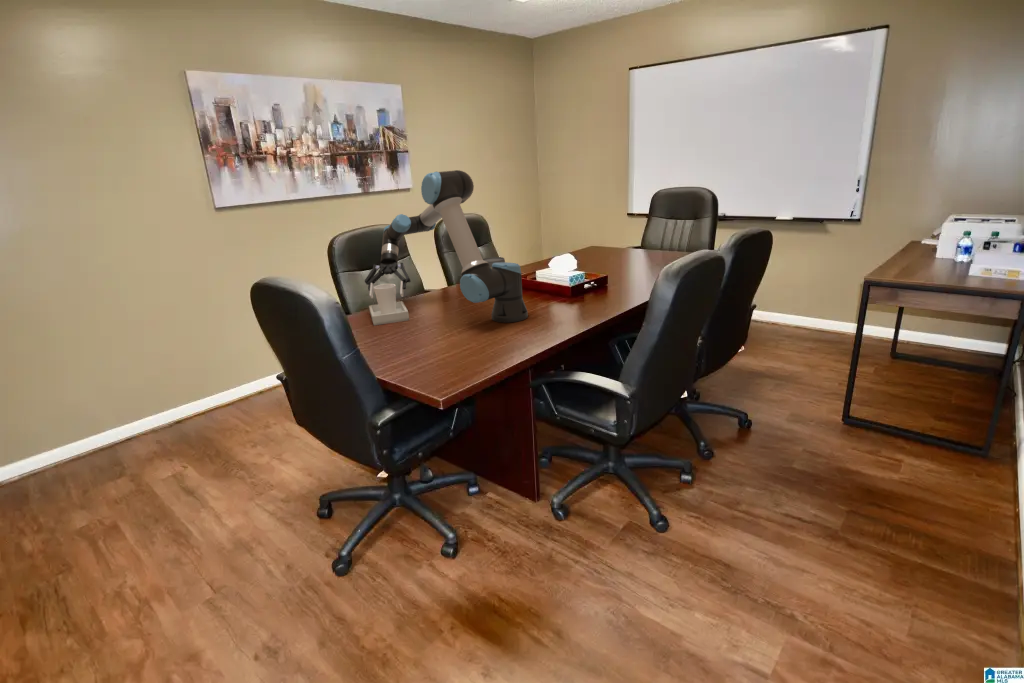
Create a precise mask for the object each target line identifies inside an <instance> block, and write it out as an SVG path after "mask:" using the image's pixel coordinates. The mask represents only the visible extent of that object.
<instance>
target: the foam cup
mask: <svg viewBox="0 0 1024 683" xmlns="http://www.w3.org/2000/svg"><path fill="white" fill-rule="evenodd" d="M374 294H375V297H376V301H377V304H378V305H379V308H380V312H381V315H382V314H389V313H396V302H397V286H396V284H394V283H381V284H378V285H374Z"/></svg>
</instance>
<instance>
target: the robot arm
mask: <svg viewBox="0 0 1024 683" xmlns="http://www.w3.org/2000/svg"><path fill="white" fill-rule="evenodd" d="M420 186H421V188H420V189H421V192H420V193H421V197H422V199H423V201H424V202H425V203H426V204H428V205H429V206H427V207H426V208H425V209H424V210H423V211H422V212H421V213H419V215H418V214H417V215H415V216H408V215H407V214H403V213H399V214H397V215H396V216H395V218H393V220H392V221H391V223H390V224H388V225H386V226H385V227H384V228H383V232H382V243H381V252H380V253H381V256H380V264H379V265H377V264H375V263H373V265H372V269H371V270H370V272H369V273H368V274H367V276H366V278H365V279H364V283H365V285H366V286H368V287H367V290H368V291H369V297H370V299H372V300H373V299H374V294H375V292H374V287H375V285H374V284H375V283H377V282H378V280H380V279H381V278H382V277H383V276H384V275H385V276H386V275H393V274H394V275H395V276H396V277H398V279H399V280H400V289H399V294H400V296H401V297H404V293H405V290H407V284H408V283H411V279H410V276H409V274H408V272H407V270H406V269H405V264H404V262H400V263H398V262H399V249H400V241H401V240H402V239H403V237H404V236H407V235H412V234H418V233H424V232H426V233H427V232H431V231H433V230H435V228H436V225H437V223H438V221H440V220H441V219H442V221H443V223H444V226H445V228H446V231H447V234H448V236H449V238H450V240H451V243H452V245H453V248H454V250H455V253H456V255H457V258H458V260H459V262H460V265H461V267H462V269H461V273H460V275H461V278H460V279H459V288H460V289H459V290H460V291H461V293H462V295H463V297H464V298H466V300H467V301H469V302H471V303H474V304H476V303H484V302H486V301H488V300H493V299H494V303H493V305H492V306H493V307H492V310H491V319H492V321H494V322H497V323H516V322H521V321H524V320H526V319H527V318H528V317H529V314H528V309H527V306H526V304H525V301H524V299H523V298H524V297H523V282H522V280H523V279H522V274H523V273H522V269H521V265H520V264H519V263H517V262H516V263H515V262H509V261H507V262H506V261H505V262H498V263H493V264H492V268H490V266H489V263H488V262H486V261H484V260H483V259H484V258H483V257H482V254H481V252H480V249H479V248H478V245H477V242H476V240H475V237H474V235H473V233H472V230H471V228H470V225H469V224H468V221H467V219H466V218H467V217H466V216H465V214H464V212H463V209H462V206H461V205H462V204H464V203H465V202H466V201H467V200H468V199H470V198H471V196H472V195H473V192H474V186H475V185H474V181H473V178H472V177H471V176H470V175H469V174H468V173H467V172H465V171H463V170H460V169H459V170H446V171H434V172H428V173H426V175H425V176H424V177H423V179H422V180H421V185H420ZM398 269H400V270H401V271H402V273H403V275H402V274H401V273H400V272H399V271H398ZM404 276H405V277H404Z"/></svg>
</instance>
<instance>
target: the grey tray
mask: <svg viewBox="0 0 1024 683" xmlns="http://www.w3.org/2000/svg"><path fill="white" fill-rule="evenodd" d="M368 308H369V309H368V310H369V315H370V316H371V317H370V318H371V321H372V323H373V326H381V325H386V324H387V325H388V324H394V323H399V322H400V323H401V322H406V321H407V322H408V321H410V315H409V311H408V308H407V307H406V305H405V303H404V301H402V300H400V301H396V313H389V314H382V315H381V312H380V308H379V305H378V303H377V304H371V305H368Z"/></svg>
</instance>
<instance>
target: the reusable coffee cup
mask: <svg viewBox="0 0 1024 683" xmlns="http://www.w3.org/2000/svg"><path fill="white" fill-rule="evenodd" d="M482 259H483V260H484V261H486V262H488V263H489V266H490V268H492V264H493V263H498V262H506V261H505V257H502V256H500V257H499V256H492V257H484V258H482Z"/></svg>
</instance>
